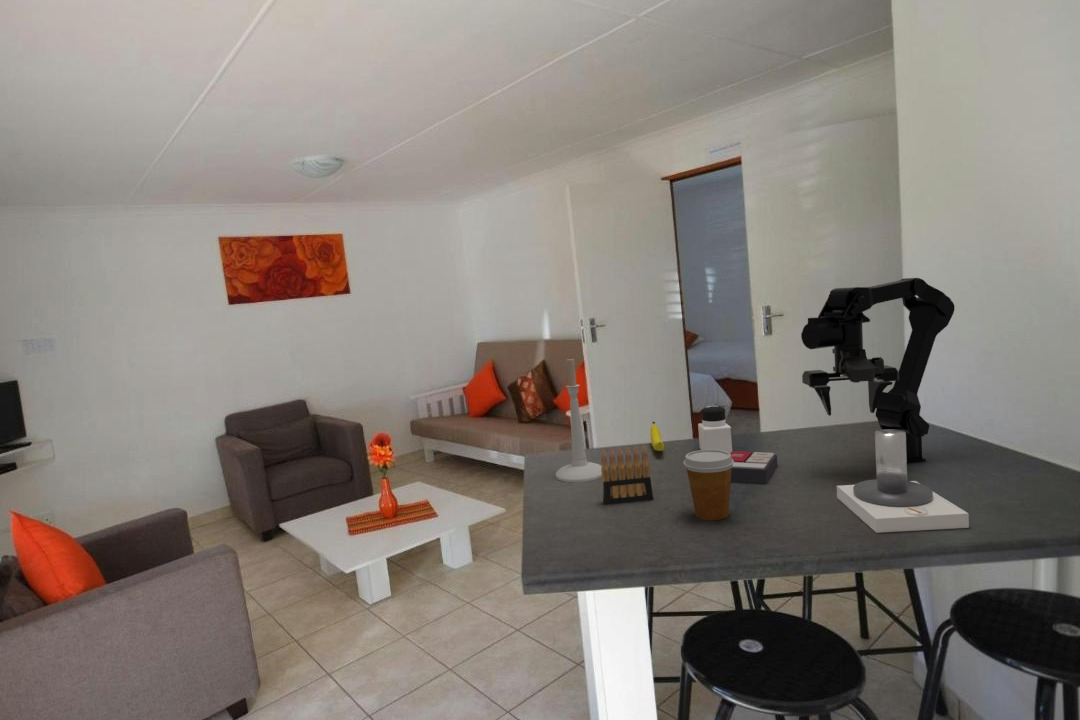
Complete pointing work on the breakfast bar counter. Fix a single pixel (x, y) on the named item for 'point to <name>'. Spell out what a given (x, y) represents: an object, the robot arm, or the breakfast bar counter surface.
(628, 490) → the ammunition clip
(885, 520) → the kitchen scale
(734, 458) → the calculator
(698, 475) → the disposable coffee cup
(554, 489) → the breakfast bar counter surface
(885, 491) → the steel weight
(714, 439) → the medicine bottle
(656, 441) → the banana
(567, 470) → the candlestick
